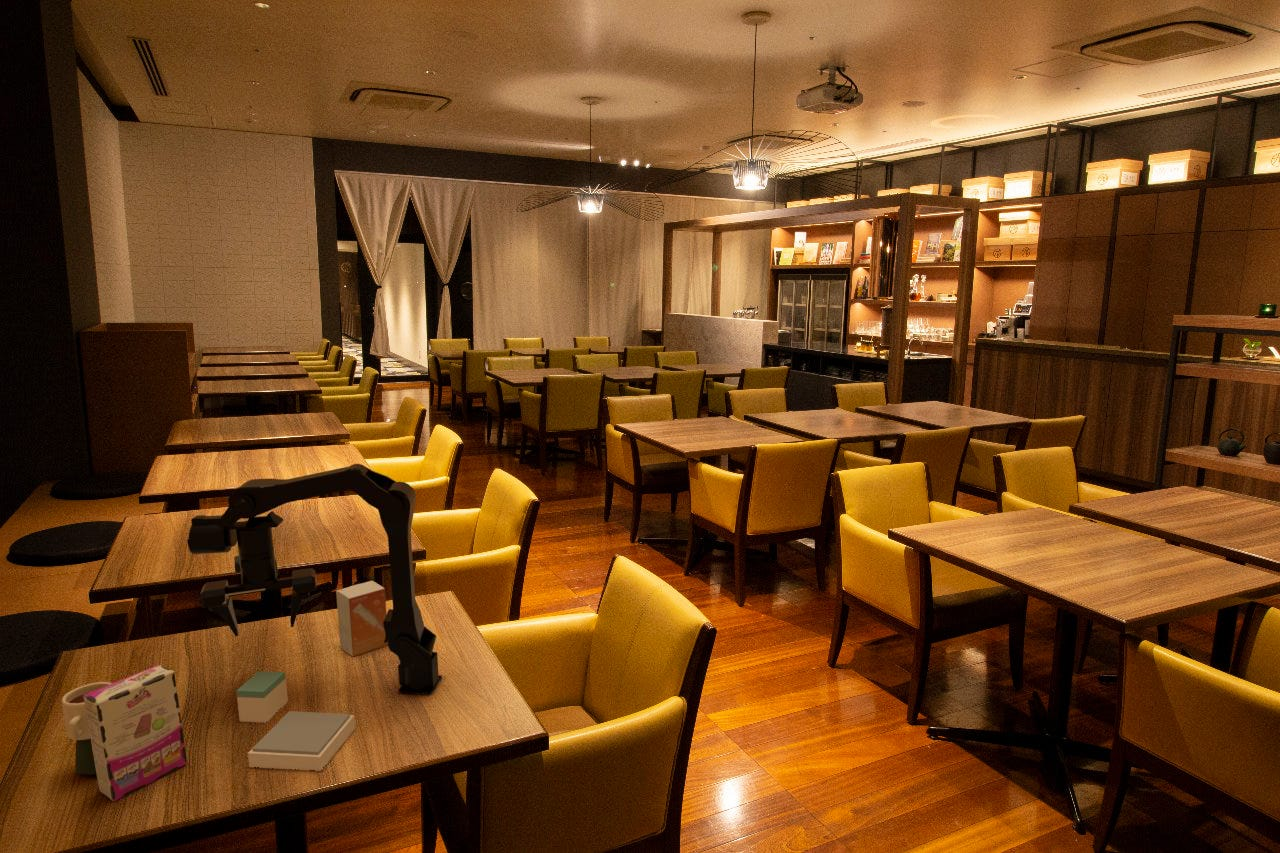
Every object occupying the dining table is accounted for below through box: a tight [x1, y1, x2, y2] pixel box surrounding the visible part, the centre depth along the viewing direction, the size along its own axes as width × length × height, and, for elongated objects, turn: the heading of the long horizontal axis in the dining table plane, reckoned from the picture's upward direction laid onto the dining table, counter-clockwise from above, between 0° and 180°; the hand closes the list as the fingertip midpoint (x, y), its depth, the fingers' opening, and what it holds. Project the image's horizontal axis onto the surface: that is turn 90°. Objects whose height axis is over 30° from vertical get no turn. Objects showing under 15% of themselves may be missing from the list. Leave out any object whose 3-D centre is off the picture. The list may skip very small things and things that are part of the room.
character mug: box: [61, 681, 113, 775], centre depth 123 cm, size 11×7×13 cm, turn 8°
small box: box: [335, 580, 388, 658], centre depth 164 cm, size 8×6×13 cm
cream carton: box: [236, 670, 289, 724], centre depth 140 cm, size 5×7×6 cm
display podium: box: [247, 710, 356, 772], centre depth 129 cm, size 12×12×3 cm
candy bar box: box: [83, 664, 188, 802], centre depth 120 cm, size 11×5×16 cm, turn 148°
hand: (265, 630), depth 143 cm, fingers open, 9 cm apart
